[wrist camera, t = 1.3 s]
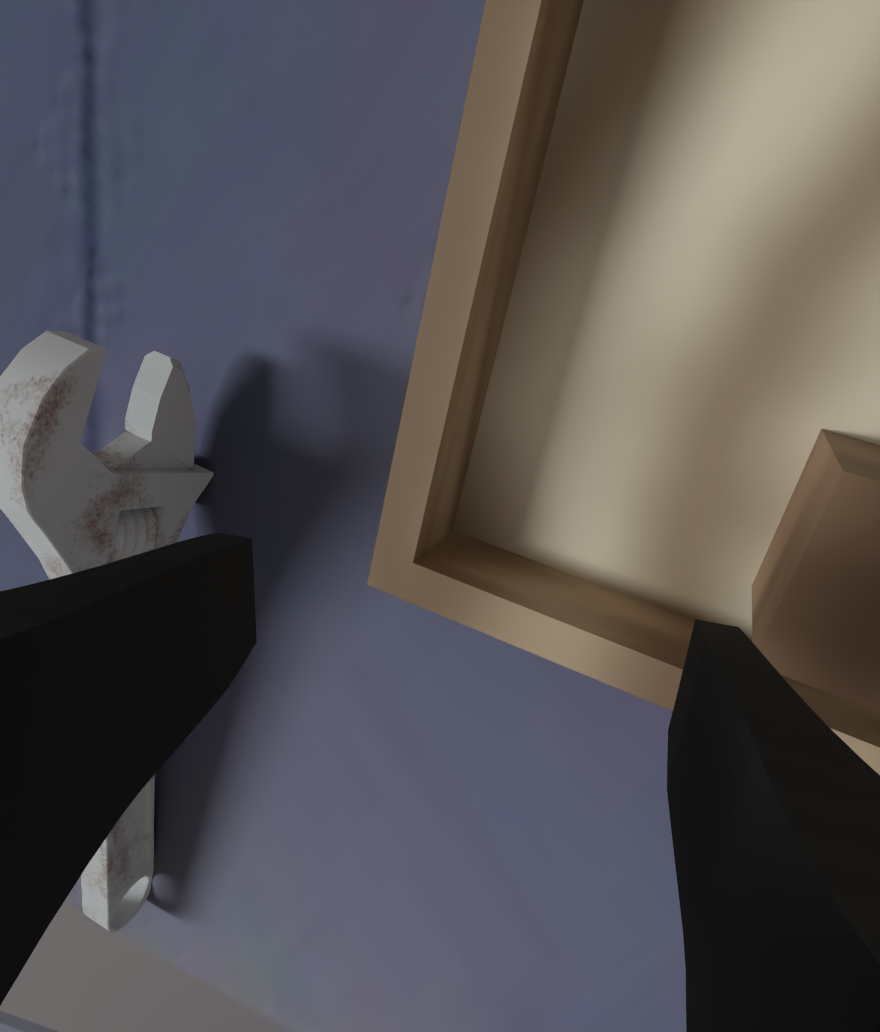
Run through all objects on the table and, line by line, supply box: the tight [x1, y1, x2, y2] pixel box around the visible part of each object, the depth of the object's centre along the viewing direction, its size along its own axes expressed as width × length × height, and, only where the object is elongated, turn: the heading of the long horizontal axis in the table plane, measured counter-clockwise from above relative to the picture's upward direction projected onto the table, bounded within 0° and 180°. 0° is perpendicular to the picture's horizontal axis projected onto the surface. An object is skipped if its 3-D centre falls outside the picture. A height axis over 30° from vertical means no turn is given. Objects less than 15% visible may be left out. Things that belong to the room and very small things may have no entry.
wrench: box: [0, 331, 214, 932], centre depth 28 cm, size 8×2×30 cm
